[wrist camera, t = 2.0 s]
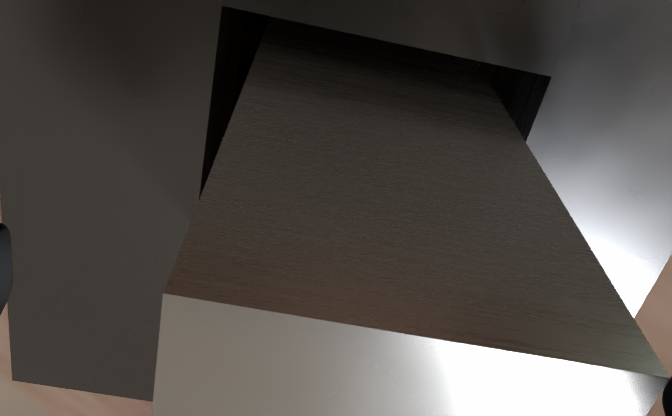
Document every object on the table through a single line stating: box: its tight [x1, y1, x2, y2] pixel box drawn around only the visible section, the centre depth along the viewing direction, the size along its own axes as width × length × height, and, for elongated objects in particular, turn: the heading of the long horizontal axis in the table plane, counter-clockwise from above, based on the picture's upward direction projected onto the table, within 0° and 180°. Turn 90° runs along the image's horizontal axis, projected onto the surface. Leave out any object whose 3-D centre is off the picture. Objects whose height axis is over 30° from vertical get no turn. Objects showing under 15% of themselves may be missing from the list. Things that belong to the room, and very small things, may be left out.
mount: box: [0, 0, 672, 401], centre depth 13 cm, size 12×12×4 cm
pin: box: [152, 16, 670, 416], centre depth 10 cm, size 4×4×10 cm
